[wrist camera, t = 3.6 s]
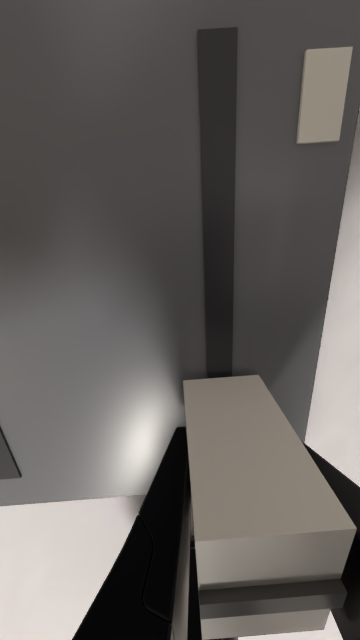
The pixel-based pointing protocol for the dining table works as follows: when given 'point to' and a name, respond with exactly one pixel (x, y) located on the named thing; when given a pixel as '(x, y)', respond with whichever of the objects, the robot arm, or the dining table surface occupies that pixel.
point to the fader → (259, 515)
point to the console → (161, 221)
